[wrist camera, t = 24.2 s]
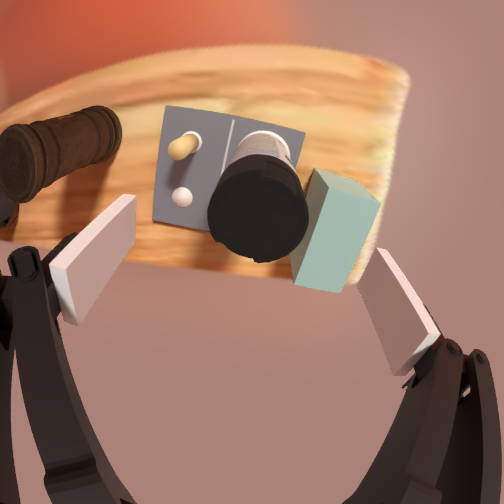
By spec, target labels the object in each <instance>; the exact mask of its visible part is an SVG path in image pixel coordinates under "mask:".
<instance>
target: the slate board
mask: <svg viewBox="0 0 504 504" xmlns="http://www.w3.org/2000/svg"><path fill="white" fill-rule="evenodd" d="M257 133H266V134H270V135H273V136H275V137H276V138H278V139H279V140H280V141H281V142H282V143H283V145H284V146H285V148H286V150H287V153H288V155H289V157H290V160H291V162H292V164H293V166H294V168H296V165H297V161H298V158H299V154H300V151H301V147H302V144H303V140H304V137H305V132H302V131H298V130H294V129H291V128H287V127H283V126H279V125H275V124H271V123H267V122H263V121H258V120H254V119H249V118H244V117H239V116H234V115H229V114H223V113H218V112H212V111H206V110H199V109H192V108H184V107H176V106H166V107H165V113H164V119H163V125H162V132H161V138H160V145H159V153H158V161H157V170H156V179H155V189H154V201H153V214H152V220H155V221H160V222H165V223H170V224H175V225H179V226H184V227H189V228H194V229H199V230H203V231H208V232H210V229H209V226H208V221H207V209H208V205H209V202H210V199H211V196H212V194H213V192H214V190H215V188H216V186H217V184H218V182H219V179H220V177H221V175H222V173H223V172H224V171H225V169H226V167H227V165H228V164H229V162H230V160H231V158H232V156H233V155H234V153H235V151H236V149H237V148H238V146H239V145H240V143H241V142H242V141H243V140H244V139H245V138H247V137H248V136H250V135H253V134H257Z"/></svg>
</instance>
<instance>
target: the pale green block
mask: <svg viewBox="0 0 504 504" xmlns="http://www.w3.org/2000/svg"><path fill="white" fill-rule="evenodd" d="M305 199H306V202H307V205H308V209H309V224H308V228H307V230H306V233H305V235H304V237H303V239H302V241H301V242H300V244H299V245H298V246H297V247H296V248H295V249H294V250H293V251H292V252H291V253H289V257H290V263H291V270H292V277H293V283H294V285H297V286H302V287H308V288H313V289H319V290H324V291H329V292H335V293H341V290H342V288H343V286H344V285H345V283H346V281H347V279H348V277H349V275H350V272H351V270H352V268H353V266H354V264H355V262H356V260H357V258H358V256H359V253H360V251H361V249H362V247H363V245H364V242H365V240H366V238H367V236H368V233H369V231H370V229H371V226H372V224H373V222H374V219H375V217H376V214H377V212H378V209H379V207H380V204H381V203H380V202H379V201H378V200H377V199H376V198H375V197H374V196H373V195H372V194H370V193H369V192H368V191H367V190H366V189H365V188H364V187H363V186H362V185H361V184H360V183H359V182H358V181H356V180H353V179H350V178H347V177H343V176H340V175H337V174H334V173H331V172H327V171H324V170H320V169H317V168H314V171H313V174H312V178H311V181H310V184H309V187H308V190H307V194H306V197H305Z"/></svg>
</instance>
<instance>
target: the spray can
mask: <svg viewBox="0 0 504 504" xmlns="http://www.w3.org/2000/svg"><path fill="white" fill-rule="evenodd" d="M207 221H208V226H209V229H210V233H211V235H212V237H213V238H214V240H215V241H216V242H221V243H223V244H224V245H225V246H226V247H227V248H228V249H229V250H231V251H232V252H234V253H236V254H238V255H241V256H244V257H248V258H253V259H254V262H257V263H264V262H271V261H274V260H277V259H280V258H282V257H284V256H287V255H288V254H289V253H291V252H292V251H293V250H294V249H295V248H296V247H297V246H298V245H299V244H300V242H301V241H302V239H303V237H304V235H305V233H306V230H307V228H308V224H309V209H308V205H307V202H306V199H305V196H304V193H303V190H302V187H301V183H300V180H299V178H298V176H297V173H296V171H295V168H294V166H293V164H292V162H291V160H290V157H289V155H288V153H287V150H286V148H285V146H284V145H283V143H282V142H281V141H280V140H279V139H278V138H276V137H275V136H273V135H270V134H266V133H257V134H253V135H250V136H248V137H247V138H245V139H244V140H243V141H242V142H241V143H240V145H239V146H238V148H237V149H236V151H235V153H234V155H233V156H232V158H231V160H230V162H229V164H228V165H227V167H226V169H225V171H224V172H223V173H222V175H221V177H220V179H219V182H218V184H217V186H216V188H215V190H214V192H213V194H212V196H211V199H210V202H209V205H208V209H207Z"/></svg>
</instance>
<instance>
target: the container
mask: <svg viewBox="0 0 504 504" xmlns="http://www.w3.org/2000/svg"><path fill="white" fill-rule="evenodd" d="M121 137H122V128H121V124H120V121H119V119H118V117H117V115H116V114H115V113H114V112H113V111H112V110H110V109H109V108H107V107H104V106H91V107H88V108H85V109H82V110H81V111H77V112H73V113H71V114H69V115H64V116H60V117H55V118H51V119H47V120H44V121H35V122H33V123H31V124H29V125H28V124H23V125H22V124H14V125H11V126H9V127H8V128H7V129H5V130H4V131H3V132H2V134H1V135H0V189H1V191H2V192H3V194H4V195H5V196H6V197H7V198H8V199H9V200H11V201H13V202H15V203H26V202H29V201H30V200H32V199H33V198H34V197H35V196H36V194H37V193H38V192H39V191H40V190H41V189H42V188H45V187H48V186H50V185H51V184H52V183H53V182H54V181H56V180H58V179H60V178H61V177H63V176H65V175H67V174H69V173H71V172H73V171H75V170H77V169H79V168H83V167H86V166H88V165H90V164H96V163H98V162H102V161H104V160H106V159H108V158H109V157H110V156H112V155H113V153H114V152H115V151H116V150H117V148H118V146H119V144H120V141H121Z"/></svg>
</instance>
